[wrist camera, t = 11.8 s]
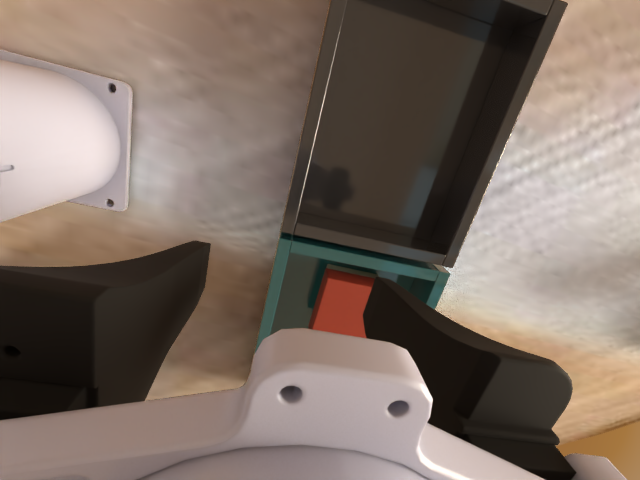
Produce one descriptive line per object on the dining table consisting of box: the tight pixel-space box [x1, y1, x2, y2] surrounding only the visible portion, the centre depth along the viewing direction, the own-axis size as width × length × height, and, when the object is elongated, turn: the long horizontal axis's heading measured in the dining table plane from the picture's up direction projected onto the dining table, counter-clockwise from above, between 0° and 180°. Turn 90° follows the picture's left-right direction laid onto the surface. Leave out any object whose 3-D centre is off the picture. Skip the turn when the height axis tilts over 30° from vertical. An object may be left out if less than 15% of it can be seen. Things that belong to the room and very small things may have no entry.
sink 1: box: [248, 223, 450, 377], centre depth 24 cm, size 12×15×3 cm
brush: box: [308, 264, 379, 338], centre depth 23 cm, size 5×11×3 cm, turn 165°
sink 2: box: [281, 0, 568, 268], centre depth 18 cm, size 12×15×3 cm
